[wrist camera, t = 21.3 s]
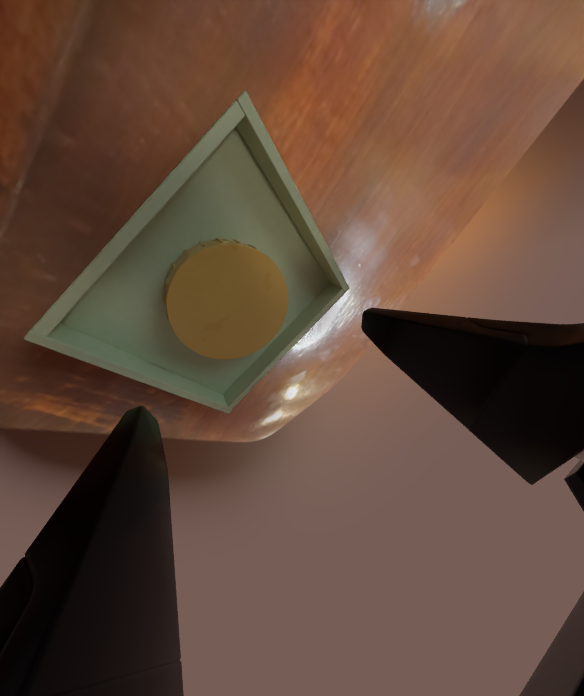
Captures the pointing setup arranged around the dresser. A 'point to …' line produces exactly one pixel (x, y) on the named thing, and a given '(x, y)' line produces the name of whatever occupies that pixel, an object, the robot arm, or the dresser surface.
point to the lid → (225, 299)
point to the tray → (181, 234)
